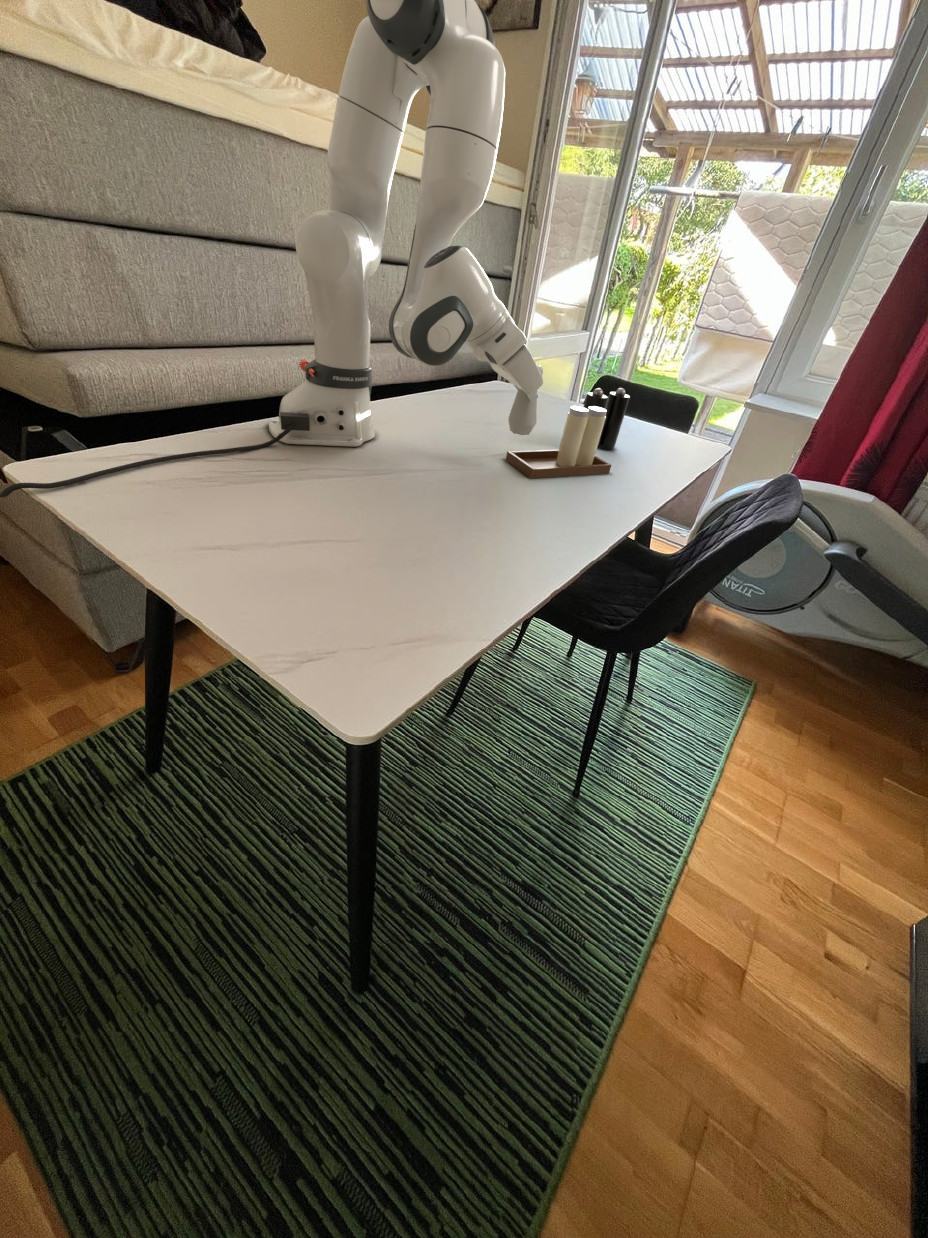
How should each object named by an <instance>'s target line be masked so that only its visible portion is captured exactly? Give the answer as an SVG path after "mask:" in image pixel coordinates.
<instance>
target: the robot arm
mask: <svg viewBox="0 0 928 1238" xmlns="http://www.w3.org/2000/svg"><path fill="white" fill-rule="evenodd" d="M365 3H366V4H365V5H366V11H367V15H368V16H365V17H364V18H363V19H362V20H361V21H360V22H359V24H358V26H357V28H356V31H355V33H354V36H353V38H352V41H351V44H350V48H349V51H348V53H347V57H346V61H345V64H344V68H343V72H342V75H341V80H340V85H339V89H338V95H337V99H336V105H335V111H334V116H333V121H332V126H331V133H330V137H329V144H328V147H327V148H328V149H327V154H326V161H327V163H326V164H327V167H328V199H327V209H321V210H317V211H315V212H313V213H311V214H310V215H308V217H306V218H305V219H304V220H303V221H302V222H301V223H300V224H299V226H298V228H297V231H296V235H295V251H296V252H295V253H296V255H297V259H298V261H299V264H300V265H301V267H302V269H303V271H304V276H305V280H306V282H305V283H306V286H307V290H308V291H307V292H308V295H309V301H310V305H311V312H312V320H313V321H312V322H313V341H314V359H313V360H312V361H310V362H309V361H308V360H307V359H305V358H302V359H300V361H299V362H298V366H299V368H300V370H302V371H303V372H304V373H305V374H304V375H305V380H304V381H302V382H301V383H299V384H298V385H297V386H296V387H294V388H293V389H292V390H290V391H289V392H288V393H286V394H285V395H283V397H282V399H281V400H280V404H279V410H278V411H279V412H278V417H276V418H271V420H269V423H268V430H269V433H270V434H271V436H273V439H271V440H269V441H266V442H263V443H259V444H254V445H245V446H236V447H229V448H220V449H209V450H200V451H193V452H186V453H178V454H172V455H165V456H160V457H153V458H150V459H149V458H148V459H145V460H140V461H135V462H131V463H126V464H123V465H118V466H114V467H110V468H106V469H103V470H98V471H95V472H91V473H88V474H84V475H80V476H76V477H72V478H68V479H65V480H64V479H63V480H60V481H55V482H18V483H13V484H11V485H9V486H7V487H5V488H4V489H3V490H2V491H1V492H0V498H7V497H8V496H10V494H12V493H13V492H15V491H17V490H22V489H38V490H39V489H41V490H48V489H57V488H62V487H68V486H71V485H75V484H79V483H82V482H85V481H89V480H92V479H96V478H99V477H103V476H108V475H111V474H115V473H119V472H123V471H126V470H130V469H131V470H132V469H135V468H140V467H144V466H148V465H149V466H150V465H153V464H158V463H164V462H169V461H174V460H182V459H189V458H196V457H203V456H211V455H212V456H213V455H214V456H215V455H222V454H224V455H225V454H231V453H237V452H246V451H255V450H259V449H263V448H267V447H269V446H272V445H274V444H276V443H277V442H281V443H284V444H288V445H289V444H290V445H307V446H308V445H309V446H332V447H360V446H361V445H363V443H365V442H367V441H370V440H372V439H373V438H375V436H376V431H375V428H374V422H373V417H372V416H373V415H372V408H371V394H372V386H373V374H372V366H371V330H372V329H371V327H372V326H371V320H370V317H369V314H368V313H369V312H368V306H367V299H366V291H365V290H366V289H365V282H367V281H368V280H370V279H371V278H372V276H374V274H375V273H376V272H377V270H378V268H379V267H380V265H381V261H382V257H383V256H382V255H383V251H382V250H383V249H382V248H383V242H384V237H385V230H386V223H387V215H388V205H389V199H390V192H391V188H392V182H393V179H394V174H395V170H396V167H397V164H398V163H397V162H398V158H399V155H400V150H401V147H402V142H403V138H404V133H405V130H406V125H407V120H408V117H409V112H410V108H411V105H412V102H413V100H414V97H415V96H416V94H417V93H418V92H419V91H420V90H422V88H424V87H426V90H427V92H428V94H429V96H430V101H429V111H428V116H427V121H426V130H425V136H424V144H423V145H424V146H423V153H422V163H421V172H420V185H419V192H418V193H419V195H418V200H417V201H418V203H417V211H416V219H415V223H414V224H415V225H414V230H413V235H412V239H411V245H410V252H409V257H408V263H407V269H406V274H405V279H404V283H403V288H402V291H401V294H400V296H399V298H398V299H397V301H396V303H395V305H394V306H393V308H392V311H391V313H390V316H389V320H388V333H389V334H388V335H389V337H390V340H391V343H392V345H393V346H394V348H395V349H396V350H397V351H398V352H399V353H400V354H401V355H403V356H405V357H407V358H409V359H414V360H416V361H419V362H421V363H424V364H425V365H427V366H431V367H432V366H433V367H438V366H442V365H445V364H447V363H448V362H450V361H451V360H452V359H453V358H454V357H455V356H456V354H457V353H458V352H459V350H460V349H461V348H462V347H463V345H464V344H465V342H466V343H467V345H468V347H469V348H470V350H471V351H472V353H473V354H474V356H475V358H476V359H477V360H478V361H479V362H482V363H483V362H484V363H485V362H487V363H488V364H489V366H490V367H491V369H492V370H493V371H494V372H495V373H497V374H498V375H499V376H501V377H502V378H503V379H505V380H506V381H508V382H509V383H511V384H512V385H513V386H514V388H516V390H517V391H518V389H520V390H522V391H523V392H524V393H525V395H526V397H527V398H528V399H529V401H530V402H534V401H535V400H536V399H537V400H538V398H539V394H538V392H537V393H536V390H537V391H538V390H539V389H540V388H541V387H542V386H543V385H544V379H543V374H542V375H541V373H540V371H539V369H538V366H537V365H538V364H537V363H536V361H535V359H534V356H533V354H532V353H531V351H530V349H529V348H528V346H527V345H526V343H527V342H528V339H527V337H526V335H525V333H524V332H523V331H522V330H521V329H520V328H519V327H518V325H517V324H516V322H515V321H514V319H513V318H512V316H511V315H510V313H509V311H508V310H507V308H506V306H505V305H504V303H503V302H502V301H501V300H500V299H499V298H498V297H497V295H496V294H495V291H494V287H493V284H492V282H491V280H490V279H489V276H488V275H487V274H486V272H485V270H484V268H483V267H482V266H481V264H480V262H478V260H477V258H476V257H475V256H474V255H473V253H472V252H471V251H470V250H469V249H468V248H467V247H466V246H462V245H457V244H456V245H451V243H452V241H453V239H454V237H455V236H456V234H457V233H458V232H459V230H460V229H461V228H462V227H463V225H464V224H466V222H467V221H468V220H469V219H470V218H471V217H473V215H474V214H475V213H476V212H478V211H479V210H480V208H481V207H482V205H483V204H484V201H485V199H486V197H487V193H488V191H489V188H490V186H491V185H490V184H491V182H492V178H493V174H494V170H495V165H496V162H497V155H498V150H499V143H500V138H501V130H502V125H503V114H504V107H505V104H504V103H505V92H506V67H505V64H504V59H503V56H502V54H501V52H500V51H499V49H498V48H497V47H496V46H495V38H494V32H493V29H492V26H491V23H490V20H489V18H488V16H487V13H486V12H485V11H484V9H483V7H482V6H481V5H480V3H478V2H477V1H476V0H365Z"/></svg>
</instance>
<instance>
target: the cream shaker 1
mask: <svg viewBox="0 0 928 1238" xmlns="http://www.w3.org/2000/svg"><path fill="white" fill-rule="evenodd" d="M583 407H584V406H578V405H571V406H570V408H569V411H568V412H567V416H566V420H565V424H564V428H563V432H562V436H561V440H560V443H559V448H558V450H559V451H558V455H557V460H556V464H557V465H559V466H575V464H576V460H577V457H578V453H579V449H580V446H581V442H582V438H583V435H584V431H585V427H586V423H587V420H588V413H589V410H588V409H586V408H583Z"/></svg>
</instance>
